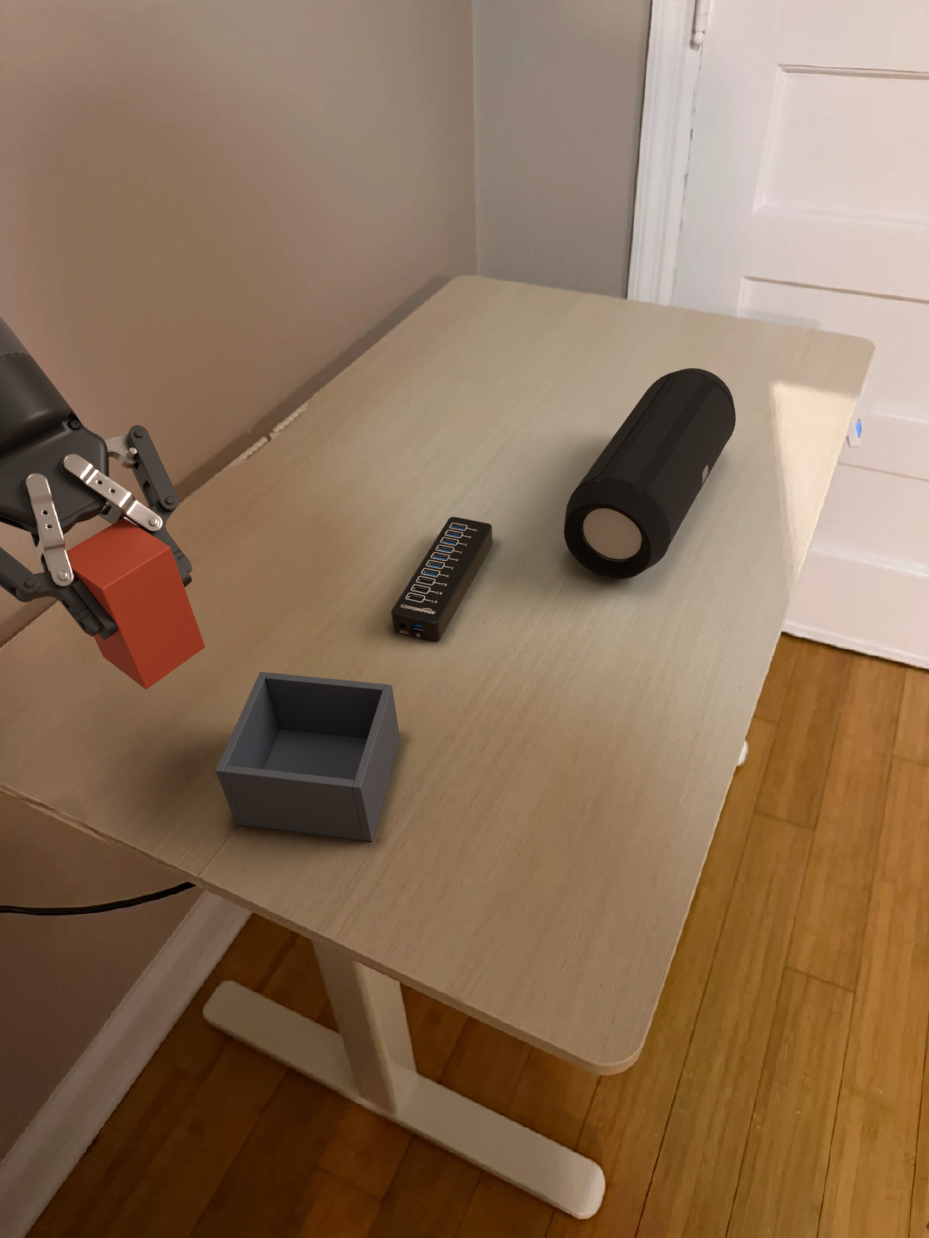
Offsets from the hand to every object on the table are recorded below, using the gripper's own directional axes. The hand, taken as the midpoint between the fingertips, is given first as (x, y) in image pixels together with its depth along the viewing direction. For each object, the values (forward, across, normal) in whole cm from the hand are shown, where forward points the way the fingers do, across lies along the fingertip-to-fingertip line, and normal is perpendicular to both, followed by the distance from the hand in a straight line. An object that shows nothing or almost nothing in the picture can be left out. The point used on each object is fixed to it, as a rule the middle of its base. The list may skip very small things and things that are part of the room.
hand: (149, 608), depth 57 cm
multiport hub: (+12, +27, +11) cm, 32 cm away
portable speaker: (+19, +48, +5) cm, 52 cm away
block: (+2, 0, +5) cm, 5 cm away
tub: (+17, +4, +6) cm, 19 cm away
